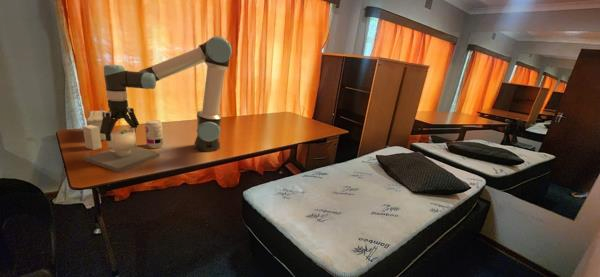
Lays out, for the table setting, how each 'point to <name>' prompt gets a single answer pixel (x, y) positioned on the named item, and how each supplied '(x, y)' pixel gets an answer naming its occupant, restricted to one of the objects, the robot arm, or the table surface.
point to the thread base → (121, 158)
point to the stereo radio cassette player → (96, 120)
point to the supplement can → (154, 133)
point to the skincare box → (92, 137)
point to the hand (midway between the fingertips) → (122, 142)
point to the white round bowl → (123, 140)
